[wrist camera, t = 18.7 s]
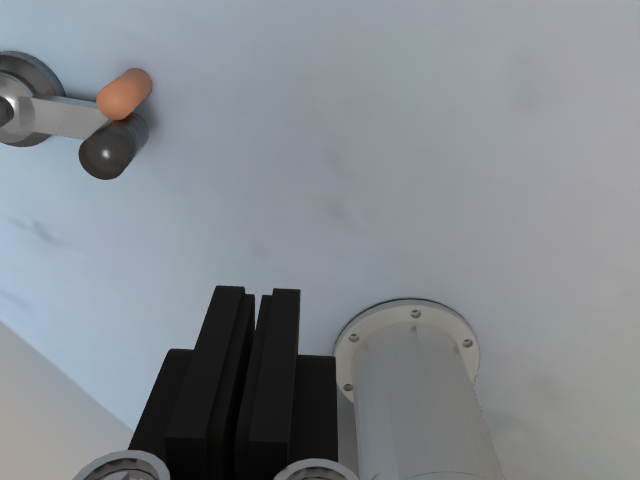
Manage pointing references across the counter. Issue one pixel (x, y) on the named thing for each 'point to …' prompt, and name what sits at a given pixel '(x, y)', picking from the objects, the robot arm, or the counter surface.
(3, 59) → the crank base
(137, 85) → the post
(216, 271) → the counter surface
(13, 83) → the crank
